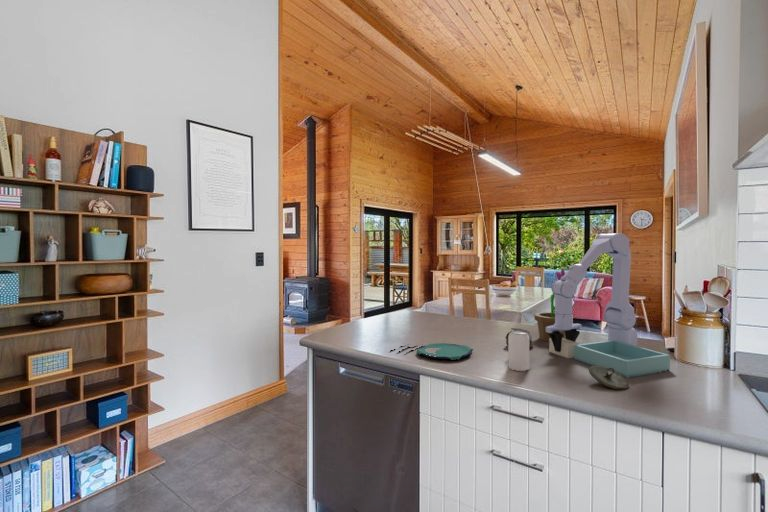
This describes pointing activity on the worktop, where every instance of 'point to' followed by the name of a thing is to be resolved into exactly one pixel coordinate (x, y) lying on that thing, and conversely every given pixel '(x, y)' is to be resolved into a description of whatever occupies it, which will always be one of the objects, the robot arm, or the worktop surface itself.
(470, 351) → the teal platter
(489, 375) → the worktop surface
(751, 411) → the worktop surface
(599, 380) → the lid
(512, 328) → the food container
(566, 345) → the small crate
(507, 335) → the pottery mug
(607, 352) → the big tray
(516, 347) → the can
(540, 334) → the flowerpot
